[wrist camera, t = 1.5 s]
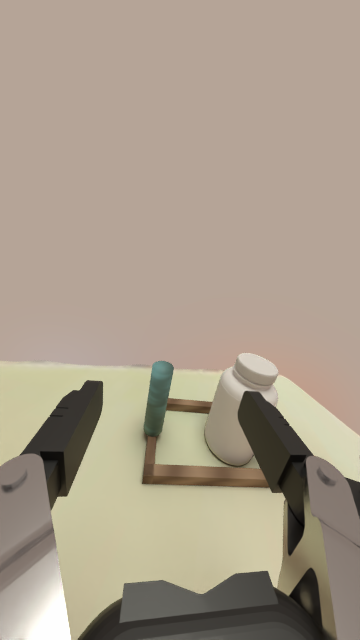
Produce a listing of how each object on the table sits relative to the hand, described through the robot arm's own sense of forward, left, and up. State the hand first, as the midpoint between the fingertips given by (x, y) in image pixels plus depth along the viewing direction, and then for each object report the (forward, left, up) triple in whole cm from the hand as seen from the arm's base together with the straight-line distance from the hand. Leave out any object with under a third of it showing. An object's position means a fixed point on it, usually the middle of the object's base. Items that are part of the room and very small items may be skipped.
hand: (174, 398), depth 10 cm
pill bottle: (+12, +12, -19) cm, 25 cm away
